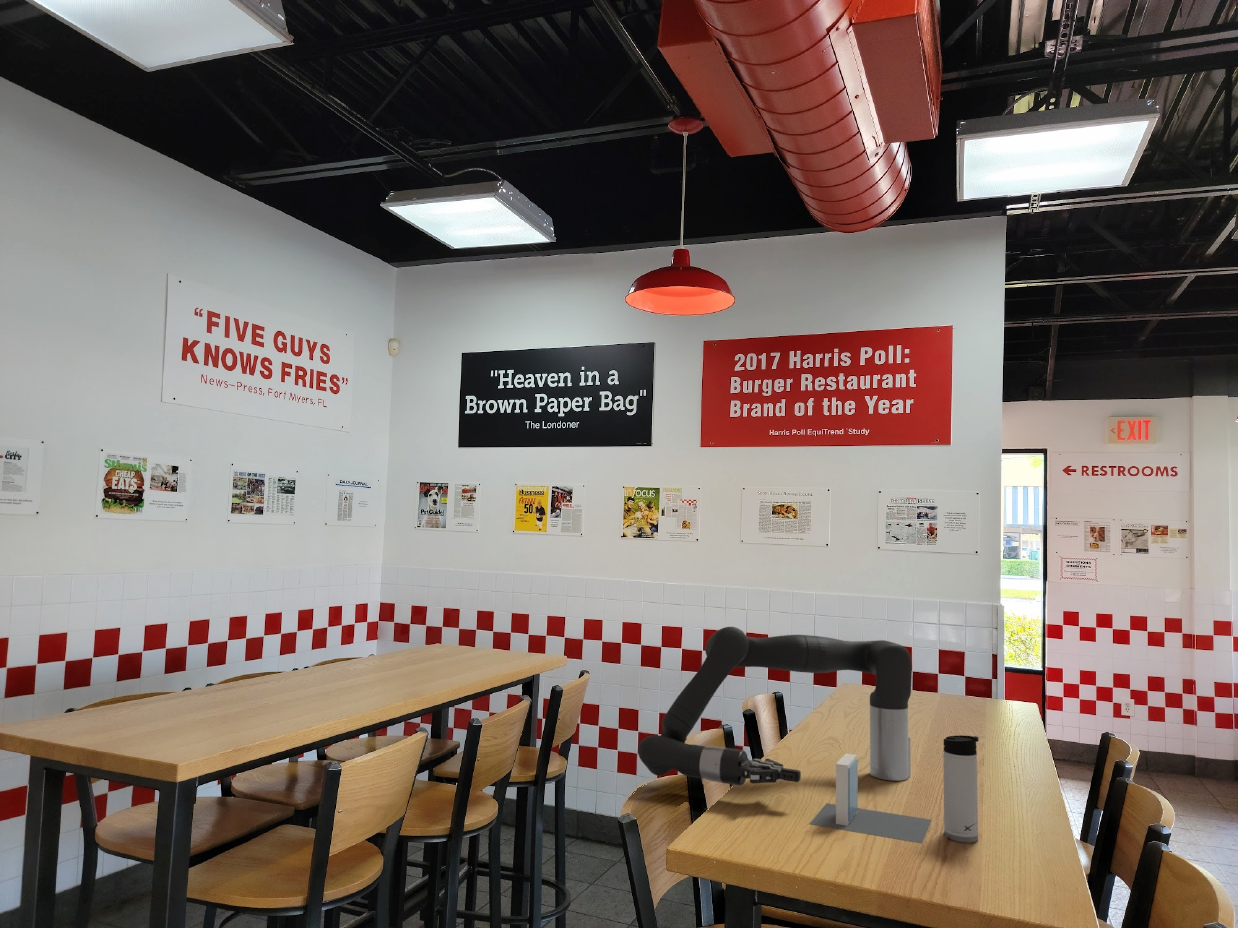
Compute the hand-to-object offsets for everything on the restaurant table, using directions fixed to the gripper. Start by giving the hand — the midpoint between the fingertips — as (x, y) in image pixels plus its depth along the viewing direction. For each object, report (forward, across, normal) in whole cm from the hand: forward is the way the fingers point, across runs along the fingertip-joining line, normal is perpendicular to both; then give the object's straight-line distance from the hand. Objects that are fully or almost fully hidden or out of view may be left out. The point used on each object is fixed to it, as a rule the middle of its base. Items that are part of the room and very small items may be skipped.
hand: (799, 776), depth 184 cm
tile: (+10, 0, +7) cm, 12 cm away
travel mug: (+32, +1, +8) cm, 33 cm away
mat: (+15, 0, +8) cm, 17 cm away
